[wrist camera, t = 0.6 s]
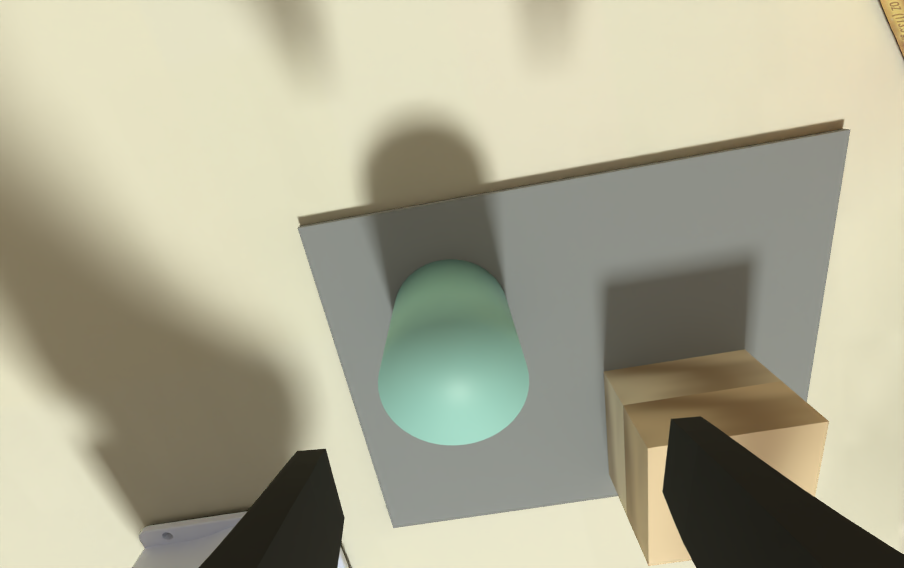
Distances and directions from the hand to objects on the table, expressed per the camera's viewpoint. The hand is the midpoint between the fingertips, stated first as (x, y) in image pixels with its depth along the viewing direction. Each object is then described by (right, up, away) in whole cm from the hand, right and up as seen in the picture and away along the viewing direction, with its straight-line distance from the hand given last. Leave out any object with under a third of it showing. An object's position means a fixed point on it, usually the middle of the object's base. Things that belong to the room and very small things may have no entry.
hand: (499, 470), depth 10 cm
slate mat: (+5, +1, +10) cm, 11 cm away
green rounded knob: (-1, +3, +9) cm, 9 cm away
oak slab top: (+9, -3, +9) cm, 13 cm away
